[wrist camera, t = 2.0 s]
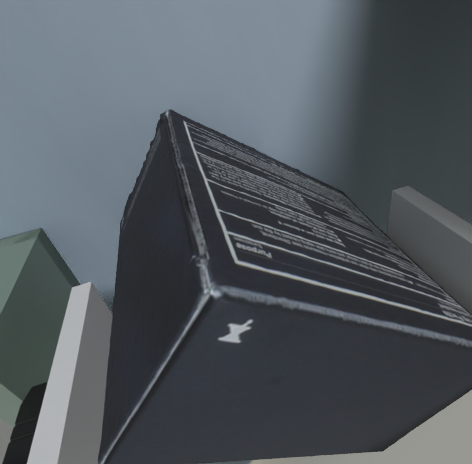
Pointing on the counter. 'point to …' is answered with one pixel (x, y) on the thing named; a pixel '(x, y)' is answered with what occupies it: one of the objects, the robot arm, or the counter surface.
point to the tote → (29, 314)
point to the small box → (265, 315)
